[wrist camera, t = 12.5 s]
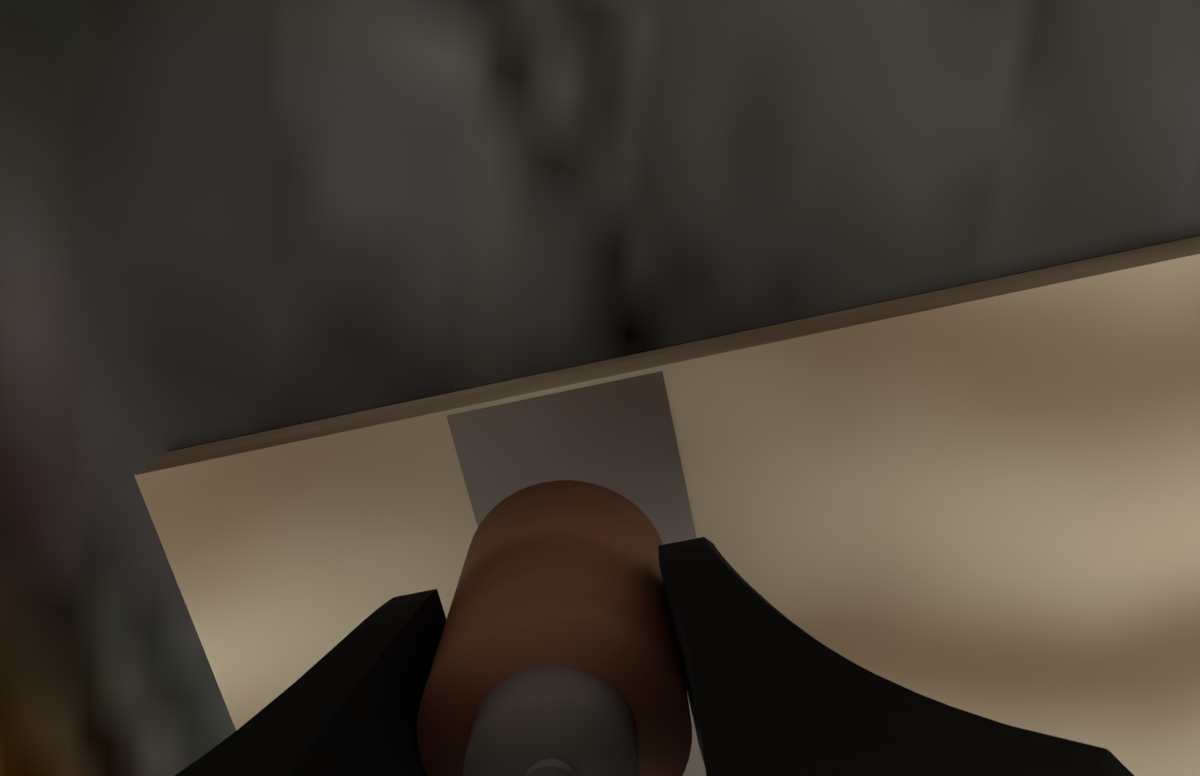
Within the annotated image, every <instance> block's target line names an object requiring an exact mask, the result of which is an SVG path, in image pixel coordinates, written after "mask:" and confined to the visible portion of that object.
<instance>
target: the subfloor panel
mask: <svg viewBox="0 0 1200 776" xmlns="http://www.w3.org/2000/svg"><path fill="white" fill-rule="evenodd" d="M134 476H135V478H136V481H137V483H138V486H139V488H140V491H141V493H142V496H143V498H144V501H145V503H146V506H147V508H148V511H149V513H150V516H151V518H152V521H153V523H154V526H155V528H156V531H157V533H158V536H159V538H160V541H161V543H162V546H163V548H164V551H165V553H166V556H167V558H168V561H169V563H170V566H171V568H172V571H173V573H174V576H175V578H176V581H177V583H178V586H179V588H180V591H181V593H182V596H183V598H184V601H185V603H186V606H187V608H188V611H189V613H190V616H191V618H192V621H193V623H194V626H195V628H196V631H197V633H198V636H199V638H200V641H201V643H202V646H203V648H204V651H205V653H206V656H207V658H208V661H209V663H210V666H211V668H212V671H213V673H214V676H215V678H216V681H217V683H218V686H219V688H220V691H221V693H222V696H223V698H224V701H225V703H226V706H227V708H228V711H229V713H230V716H231V718H232V721H233V723H234V726H235V728H236V731H237V730H238V729H239V728H240V727H242V726H243V725H244V724H245V723H246V722H248V721H249V720H250V719H251V718H252V717H254V716H255V715H256V714H257V713H258V712H260V711H261V710H262V709H263V708H265V707H266V706H267V705H268V704H269V703H271V702H272V701H273V700H274V699H275V698H277V697H278V696H279V695H280V694H281V693H283V692H284V691H285V690H286V689H287V688H289V687H290V686H291V685H292V684H293V683H295V682H296V681H297V680H298V679H299V678H300V677H301V676H303V675H304V674H305V673H306V672H307V671H308V670H309V669H310V668H311V667H313V666H314V665H315V664H316V663H317V662H318V661H319V660H320V659H321V658H323V657H324V656H325V655H326V654H327V653H328V652H329V651H330V650H332V649H333V648H334V647H335V646H336V645H337V644H338V643H339V642H340V641H342V640H343V639H344V638H345V637H346V636H347V635H348V634H349V633H350V632H351V631H353V630H354V629H355V628H356V627H357V626H358V625H359V624H360V623H362V622H363V621H364V620H365V619H366V618H367V617H369V616H370V615H371V614H372V613H373V612H374V611H376V610H377V609H378V608H379V607H381V606H382V605H383V604H384V603H386V602H387V601H389V600H390V599H392V598H393V597H397V596H402V595H408V594H413V593H418V592H423V591H428V590H433V589H437V590H438V594H439V597H440V600H441V603H442V607H443V610H444V613H445V616H446V619H447V616H448V613H449V610H450V607H451V603H452V600H453V597H454V594H455V591H456V588H457V584H458V581H459V578H460V575H461V572H462V569H463V565H464V562H465V559H466V556H467V553H468V550H469V546H470V544H471V541H472V538H473V536H474V534H475V532H476V530H477V528H478V527H479V525H480V523H481V522H482V521H483V519H484V518H485V517H486V515H487V514H488V513H489V512H490V511H491V510H492V509H493V508H494V507H495V506H496V505H497V504H499V503H500V502H501V501H503V500H504V499H505V498H507V497H508V496H510V495H512V494H514V493H515V492H517V491H519V490H522V489H524V488H526V487H529V486H532V485H536V484H539V483H543V482H550V481H557V480H573V481H583V482H588V483H592V484H597V485H600V486H603V487H605V488H608V489H611V490H613V491H615V492H617V493H618V494H620V495H622V496H624V497H625V498H627V499H628V500H630V501H631V502H633V503H634V504H635V505H636V506H637V507H638V508H639V509H640V510H642V511H643V512H644V514H645V515H646V516H647V517H648V518H649V519H650V521H651V522H652V524H653V525H654V527H655V528H656V530H657V531H658V534H659V536H660V538H661V540H662V542H663V545H664V544H669V543H675V542H680V541H685V540H690V539H695V538H700V537H705V538H707V539H708V540H709V541H711V542H712V543H714V545H715V547H716V548H717V549H718V551H719V552H720V553H721V555H722V556H723V557H724V558H725V560H726V561H727V562H728V563H729V564H730V565H731V566H732V567H733V568H734V570H735V571H736V572H737V573H738V574H739V575H740V576H741V577H742V578H743V579H744V580H745V581H746V582H747V583H748V584H749V585H750V586H751V587H752V588H753V589H755V590H756V591H757V592H758V593H759V594H760V595H761V596H762V597H763V598H765V599H766V600H767V601H768V602H769V603H770V604H771V605H772V606H773V607H775V608H776V609H777V610H778V611H779V612H781V613H782V614H783V615H784V616H786V617H787V618H788V619H789V620H791V621H792V622H793V623H795V624H796V625H797V626H799V627H800V628H801V629H803V630H804V631H805V632H807V633H808V634H809V635H811V636H812V637H813V638H815V639H816V640H818V641H819V642H821V643H822V644H824V645H825V646H827V647H828V648H830V649H831V650H833V651H835V652H836V653H838V654H840V655H841V656H843V657H845V658H847V659H848V660H850V661H852V662H853V663H855V664H857V665H859V666H861V667H863V668H865V669H867V670H869V671H871V672H872V673H874V674H876V675H878V676H881V677H883V678H885V679H887V680H889V681H892V682H894V683H896V684H898V685H901V686H903V687H905V688H907V689H909V690H912V691H914V692H916V693H918V694H921V695H923V696H926V697H928V698H931V699H934V700H936V701H939V702H941V703H944V704H946V705H949V706H952V707H955V708H958V709H961V710H964V711H967V712H970V713H973V714H976V715H979V716H982V717H985V718H988V719H991V720H994V721H997V722H1000V723H1003V724H1007V725H1010V726H1014V727H1018V728H1022V729H1026V730H1030V731H1034V732H1039V733H1043V734H1047V735H1051V736H1055V737H1059V738H1064V739H1068V740H1072V741H1076V742H1080V743H1084V744H1088V745H1093V746H1097V747H1101V748H1105V749H1108V750H1109V751H1110V752H1111V753H1112V754H1113V755H1114V756H1115V757H1116V758H1117V759H1118V760H1119V761H1120V762H1121V763H1122V764H1123V765H1124V766H1125V767H1126V768H1127V769H1128V770H1129V771H1130V772H1131V773H1132V774H1133V775H1135V776H1200V236H1196V237H1192V238H1187V239H1182V240H1177V241H1173V242H1168V243H1163V244H1158V245H1153V246H1149V247H1144V248H1139V249H1134V250H1130V251H1125V252H1120V253H1115V254H1110V255H1106V256H1101V257H1096V258H1091V259H1087V260H1082V261H1077V262H1072V263H1067V264H1063V265H1058V266H1053V267H1048V268H1044V269H1039V270H1034V271H1029V272H1024V273H1020V274H1015V275H1010V276H1005V277H1001V278H996V279H991V280H986V281H981V282H977V283H972V284H967V285H962V286H958V287H953V288H948V289H943V290H939V291H934V292H929V293H924V294H919V295H915V296H910V297H905V298H900V299H896V300H891V301H886V302H881V303H876V304H872V305H867V306H862V307H857V308H853V309H848V310H843V311H838V312H833V313H829V314H824V315H819V316H814V317H810V318H805V319H800V320H795V321H790V322H786V323H781V324H776V325H771V326H767V327H762V328H757V329H752V330H747V331H743V332H738V333H733V334H728V335H724V336H719V337H714V338H709V339H704V340H700V341H695V342H690V343H685V344H681V345H676V346H671V347H666V348H661V349H657V350H652V351H647V352H642V353H638V354H633V355H628V356H623V357H618V358H614V359H609V360H604V361H599V362H595V363H590V364H585V365H580V366H575V367H571V368H566V369H561V370H556V371H552V372H547V373H542V374H537V375H532V376H528V377H523V378H518V379H513V380H509V381H504V382H499V383H494V384H489V385H485V386H480V387H475V388H470V389H466V390H461V391H456V392H451V393H446V394H442V395H437V396H432V397H427V398H423V399H418V400H413V401H408V402H404V403H399V404H394V405H389V406H384V407H380V408H375V409H370V410H365V411H361V412H356V413H351V414H346V415H341V416H337V417H332V418H327V419H322V420H318V421H313V422H308V423H303V424H298V425H294V426H289V427H284V428H279V429H275V430H270V431H265V432H260V433H255V434H251V435H246V436H241V437H236V438H232V439H227V440H222V441H217V442H212V443H208V444H203V445H198V446H193V447H189V448H184V449H179V450H174V451H169V452H165V453H164V454H163V455H161V456H160V457H159V458H157V459H156V460H154V461H153V462H152V463H150V464H149V465H148V466H146V467H145V468H144V469H142V470H141V471H140V472H138V473H137V474H135V475H134Z"/></svg>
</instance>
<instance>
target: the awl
mask: <svg viewBox="0 0 1200 776" xmlns="http://www.w3.org/2000/svg"><path fill="white" fill-rule="evenodd" d="M659 545H663V542H662V540H661V538H660V536H659V534H658V531H657V530H656V528H655V527H654V525H653V524H652V522H651V521H650V519H649V518H648V517H647V516H646V515H645V514H644V512H643V511H642V510H640V509H639V508H638V507H637V506H636V505H635V504H634V503H633V502H631V501H630V500H628V499H627V498H625V497H624V496H622V495H620V494H618V493H617V492H615V491H613V490H611V489H608V488H605V487H603V486H600V485H597V484H592V483H588V482H583V481H573V480H557V481H550V482H543V483H539V484H536V485H532V486H529V487H526V488H524V489H522V490H519V491H517V492H515V493H514V494H512V495H510V496H508V497H507V498H505V499H504V500H503V501H501V502H500V503H499V504H497V505H496V506H495V507H494V508H493V509H492V510H491V511H490V512H489V513H488V514H487V515H486V517H485V518H484V519H483V521H482V522H481V523H480V525H479V527H478V528H477V530H476V532H475V534H474V536H473V538H472V541H471V544H470V546H469V550H468V553H467V556H466V559H465V562H464V565H463V569H462V572H461V575H460V578H459V581H458V584H457V588H456V591H455V594H454V597H453V600H452V603H451V607H450V610H449V613H448V616H447V619H446V622H445V626H444V629H443V632H442V635H441V638H440V642H439V645H438V648H437V651H436V654H435V657H434V661H433V664H432V667H431V670H430V673H429V676H428V680H427V683H426V686H425V689H424V692H423V695H422V699H421V702H420V707H419V711H418V716H417V731H416V732H417V742H418V749H419V753H420V757H421V761H422V763H423V766H424V768H425V770H426V773H427V775H428V776H683V774H684V772H685V769H686V766H687V763H688V760H689V757H690V751H691V745H692V723H691V716H690V709H689V703H688V696H687V689H686V683H685V676H684V670H683V665H682V661H681V657H680V653H679V649H678V645H677V642H676V638H675V634H674V630H673V626H672V621H671V617H670V612H669V607H668V603H667V598H666V594H665V589H664V585H663V580H662V576H661V571H660V567H659V555H658V546H659Z"/></svg>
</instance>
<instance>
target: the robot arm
mask: <svg viewBox="0 0 1200 776" xmlns="http://www.w3.org/2000/svg"><path fill="white" fill-rule="evenodd" d="M658 555H659V567H660V571H661V576H662V580H663V585H664V589H665V594H666V598H667V603H668V607H669V612H670V617H671V621H672V626H673V630H674V634H675V638H676V642H677V645H678V649H679V653H680V657H681V661H682V665H683V670H684V676H685V683H686V689H687V694H688V698H689V703H690V707H691V712H692V716H693V721H694V726H695V730H696V735H697V739H698V744H699V747H700V751H701V755H702V758H703V762H704V765H705V769H706V776H1135V775H1133V774H1132V773H1131V772H1130V771H1129V770H1128V769H1127V768H1126V767H1125V766H1124V765H1123V764H1122V763H1121V762H1120V761H1119V760H1118V759H1117V758H1116V757H1115V756H1114V755H1113V754H1112V753H1111V752H1110V751H1109V750H1108V749H1105V748H1101V747H1097V746H1093V745H1088V744H1084V743H1080V742H1076V741H1072V740H1068V739H1064V738H1059V737H1055V736H1051V735H1047V734H1043V733H1039V732H1034V731H1030V730H1026V729H1022V728H1018V727H1014V726H1010V725H1007V724H1003V723H1000V722H997V721H994V720H991V719H988V718H985V717H982V716H979V715H976V714H973V713H970V712H967V711H964V710H961V709H958V708H955V707H952V706H949V705H946V704H944V703H941V702H939V701H936V700H934V699H931V698H928V697H926V696H923V695H921V694H918V693H916V692H914V691H912V690H909V689H907V688H905V687H903V686H901V685H898V684H896V683H894V682H892V681H889V680H887V679H885V678H883V677H881V676H878V675H876V674H874V673H872V672H871V671H869V670H867V669H865V668H863V667H861V666H859V665H857V664H855V663H853V662H852V661H850V660H848V659H847V658H845V657H843V656H841V655H840V654H838V653H836V652H835V651H833V650H831V649H830V648H828V647H827V646H825V645H824V644H822V643H821V642H819V641H818V640H816V639H815V638H813V637H812V636H811V635H809V634H808V633H807V632H805V631H804V630H803V629H801V628H800V627H799V626H797V625H796V624H795V623H793V622H792V621H791V620H789V619H788V618H787V617H786V616H784V615H783V614H782V613H781V612H779V611H778V610H777V609H776V608H775V607H773V606H772V605H771V604H770V603H769V602H768V601H767V600H766V599H765V598H763V597H762V596H761V595H760V594H759V593H758V592H757V591H756V590H755V589H753V588H752V587H751V586H750V585H749V584H748V583H747V582H746V581H745V580H744V579H743V578H742V577H741V576H740V575H739V574H738V573H737V572H736V571H735V570H734V568H733V567H732V566H731V565H730V564H729V563H728V562H727V561H726V560H725V558H724V557H723V556H722V555H721V553H720V552H719V551H718V549H717V548H716V547H715V545H714V543H712V542H711V541H709V540H708V539H707V538H705V537H700V538H695V539H690V540H685V541H680V542H675V543H669V544H664V545H659V546H658ZM445 622H446V616H445V613H444V610H443V607H442V603H441V600H440V597H439V594H438V590H437V589H433V590H428V591H423V592H418V593H413V594H408V595H402V596H397V597H393V598H392V599H390V600H389V601H387V602H386V603H384V604H383V605H382V606H381V607H379V608H378V609H377V610H376V611H374V612H373V613H372V614H371V615H370V616H369V617H367V618H366V619H365V620H364V621H363V622H362V623H360V624H359V625H358V626H357V627H356V628H355V629H354V630H353V631H351V632H350V633H349V634H348V635H347V636H346V637H345V638H344V639H343V640H342V641H340V642H339V643H338V644H337V645H336V646H335V647H334V648H333V649H332V650H330V651H329V652H328V653H327V654H326V655H325V656H324V657H323V658H321V659H320V660H319V661H318V662H317V663H316V664H315V665H314V666H313V667H311V668H310V669H309V670H308V671H307V672H306V673H305V674H304V675H303V676H301V677H300V678H299V679H298V680H297V681H296V682H295V683H293V684H292V685H291V686H290V687H289V688H287V689H286V690H285V691H284V692H283V693H281V694H280V695H279V696H278V697H277V698H275V699H274V700H273V701H272V702H271V703H269V704H268V705H267V706H266V707H265V708H263V709H262V710H261V711H260V712H258V713H257V714H256V715H255V716H254V717H252V718H251V719H250V720H249V721H248V722H246V723H245V724H244V725H243V726H242V727H240V728H239V729H238V730H237V731H235V732H234V733H233V734H232V735H230V736H229V737H228V738H226V739H225V740H224V741H223V742H221V743H220V744H219V745H217V746H216V747H215V748H213V749H212V750H210V751H209V752H208V753H206V754H205V755H204V756H202V757H201V758H200V759H198V760H197V761H195V762H194V763H192V764H191V765H190V766H188V767H187V768H185V769H184V770H182V771H181V772H180V773H178V774H177V775H175V776H428V775H427V773H426V770H425V768H424V766H423V763H422V761H421V757H420V753H419V749H418V742H417V732H416V731H417V716H418V711H419V707H420V702H421V699H422V695H423V692H424V689H425V686H426V683H427V680H428V676H429V673H430V670H431V667H432V664H433V661H434V657H435V654H436V651H437V648H438V645H439V642H440V638H441V635H442V632H443V629H444V626H445Z"/></svg>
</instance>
